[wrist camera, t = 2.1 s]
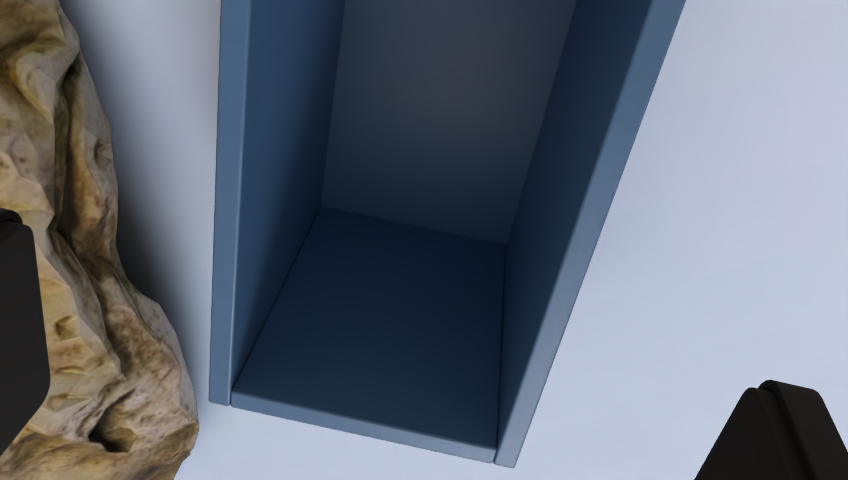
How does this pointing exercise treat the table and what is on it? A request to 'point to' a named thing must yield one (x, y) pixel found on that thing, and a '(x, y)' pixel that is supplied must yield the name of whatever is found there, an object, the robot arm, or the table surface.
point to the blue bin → (416, 204)
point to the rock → (82, 273)
